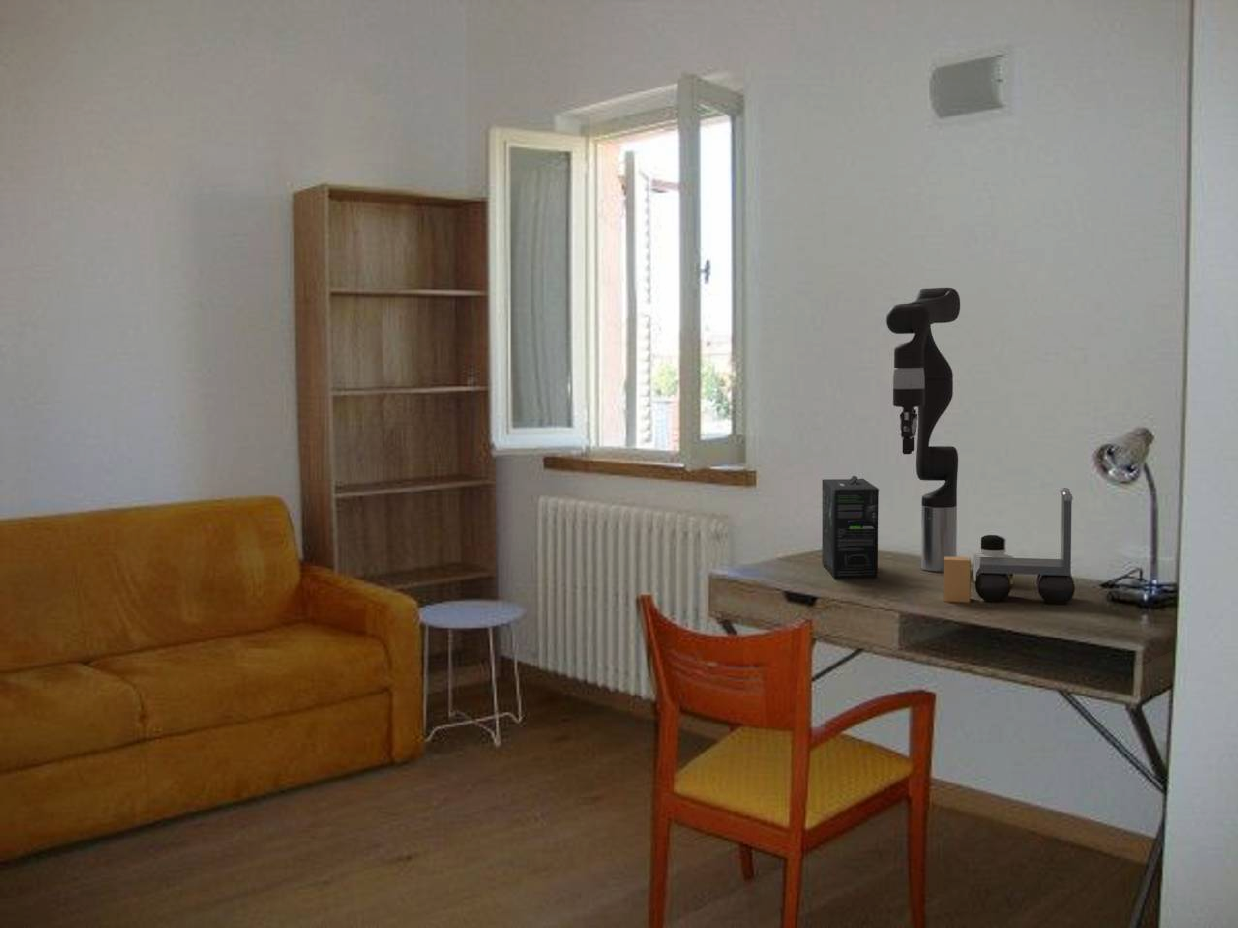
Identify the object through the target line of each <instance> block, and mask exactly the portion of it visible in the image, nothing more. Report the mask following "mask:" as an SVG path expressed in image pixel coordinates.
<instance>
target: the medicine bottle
mask: <svg viewBox="0 0 1238 928" xmlns="http://www.w3.org/2000/svg"><path fill="white" fill-rule="evenodd" d="M1006 541H1007V540H1006V538H1005V537H1004V536H1002V535H997V534H987V535H986V534H985V535H984V536H982V537H980V552H978V553H973V560H972V561H973V565H972V567H973V568H972V569H973V572H972V574H973V575H972V579H973V582H975V579H976V573H977V570H978V569H979V567H980V557H1005V558H1014V557H1013V556H1012V555H1010V554H1006V549H1007V548H1006V545H1007V544H1006V543H1007V542H1006ZM1013 575H1014V574H1010V582H1011V585H1012V584H1013V583H1014V576H1013Z"/></svg>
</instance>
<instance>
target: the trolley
mask: <svg viewBox="0 0 1238 928" xmlns="http://www.w3.org/2000/svg"><path fill="white" fill-rule="evenodd" d="M1060 494H1061V495H1060V496H1061V511H1060V513H1061V515H1060V517H1061V520H1060V525H1061V527H1060V558H1032V557H1030V558H1029V557H1013V558H1005V557H980V567H979V569H978V570H977V573H976V579H975V581H974V587H975V593H976V594H977V595H978V597H979V598H981V599H982V600H983V601H985V602H988V603H992V602H995V603H1000V602H1001V601H1003V600H1006V598H1007V597H1008V596H1009V594H1010V592H1011V589H1012V586H1011V585H1012V584H1011V582H1010V574H1013V575H1026V576H1027V575H1033V576H1036V585H1037V590H1038V594H1039V596H1040V598H1041V599H1042V600H1043V601H1044V602H1045V603H1047V604H1049V605H1054V606H1060V605H1064V604H1066V603H1068V602H1069V601H1071V600H1072V598H1073V596H1074V594H1075V591H1076V589H1075V587H1076V586H1075V583H1074V580H1073V576H1072V574H1071V573H1072V572H1071V571H1072V570H1071V568H1072V567H1071V564H1072V563H1071V562H1072V561H1071V560H1072V557H1071V555H1072V504H1073V503H1072V501H1073V495H1072V494H1071V491H1070V489H1069V488H1067V487H1063V488H1061V490H1060Z"/></svg>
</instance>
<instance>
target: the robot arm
mask: <svg viewBox="0 0 1238 928" xmlns="http://www.w3.org/2000/svg"><path fill="white" fill-rule="evenodd" d="M959 294H960V293H958V291H957V290H956V289H954V288H952V287H936V288H935V287H932V288H922V289H919V290H918V291H917V294H916V296H915V297H916V299H915V301H912V302H909V303H901V304H900V303H899V304H895V305H893V306H891V307H890V308H889V309H888V311H887V313H886V316H885V323H886V327H887V329H888V330H889V331H890V333H892V334H896V335H897V334H898V335H903V334H905V335H907V334H911V335H912V334H914V335H913V338H912V339H911V340H910V341H908V342H905V343H900V344H898V345H896V346H895V347H894V349H893V376H892V405H893V406H894V407H898V408H899V407H900V408H902V411H901V412H900V414H899V422H900V426H899V427H900V435H901V439H902V454H903V455H912V453H913V452H914V451H915V436H916V434H917V438H916V455H915V473H916V476H917V478H918V479H919V480H920V481H944V483H943V485H941V486H940V487H939V488H937V489H936V490H933V491H930V492H927V493H924V494H923V495H922V496H921V539H920V540H921V543H920V544H921V548H920V549H921V558H920V559H921V560H920V561H921V562H920V563H921V565H920V566H921V567H920V568H921V569H922V570H924V571H929V572H944V557H945V556H947V557H958V556H957V553H958V552H957V551H958V549H957V546H958V545H957V544H958V543H957V540H958V539H957V538H958V536H957V535H958V534H957V533H958V527H957V526H958V523H957V522H958V513H957V512H958V506H957V505H958V503H957V502H958V499H957V498H958V474H959V473H958V471H959V453H958V450H957V448H956V447H954V446H952V445H948V446H946V445H944V446H941V445H937V446H933V445H931V446H930V440H931V437H932V434H933V431H934V429H935V427H936V425H937V424H938V422H939V420H941V418H942V416H943V414H944V413H945V411H946V409H948V406H949V405H950V403H951V401H952V399H953V397H954V396H953V395H954V393H953V392H954V385H953V384H954V383H953V382H954V380H953V377H954V374H953V370H952V367H951V365H950V363H949V362H948V360H947V359H946V358H945V356H944V354H943V353H942V352H941V350H940V349H939V347H938V346H937V343H936V341H935V339H934V336H933V332H932V327H931V325H932V324H943V323H951V322H955V321H956V320H957V319H958V317H959V316H960V311H961V298H960V295H959ZM915 407H917V411H916V409H915ZM916 431H917V433H916Z"/></svg>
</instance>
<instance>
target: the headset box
mask: <svg viewBox="0 0 1238 928" xmlns="http://www.w3.org/2000/svg"><path fill="white" fill-rule="evenodd" d="M821 483H822V543H821V544H822V546H821V547H822V550H821V551H822V564H823V565H824V567H825V568H826V570H827V571H828V572H829V574H830V575H831V576H832V577H833V579H834V580H863V579H864V580H871V579H872V580H873V579H875V580H876V579H879V499H880V497H879V492H880V489H879V488H878V487H876V486H875V485H873V484H872V483H870V482H869V481H867V479H864V478H858V476H856V475H853V476H852V477H851V478H849V479H848V478H845V479H843V478H842V479H838V478H836V479H835V478H833V479H829V478H827V479H822V481H821Z"/></svg>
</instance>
